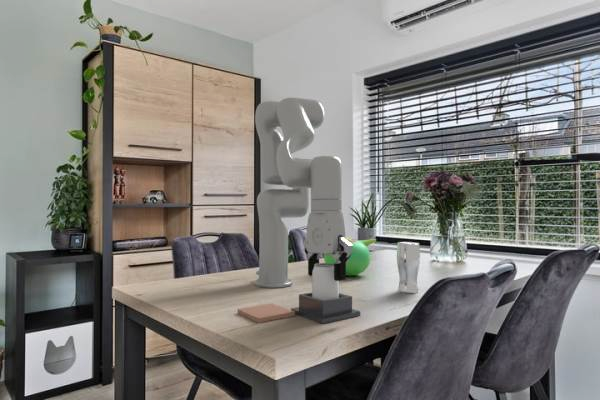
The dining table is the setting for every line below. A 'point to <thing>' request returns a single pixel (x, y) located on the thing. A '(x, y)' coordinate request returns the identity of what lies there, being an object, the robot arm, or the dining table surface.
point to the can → (324, 282)
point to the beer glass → (408, 266)
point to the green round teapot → (355, 257)
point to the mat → (265, 312)
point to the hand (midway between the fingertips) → (326, 277)
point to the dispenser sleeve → (325, 308)
